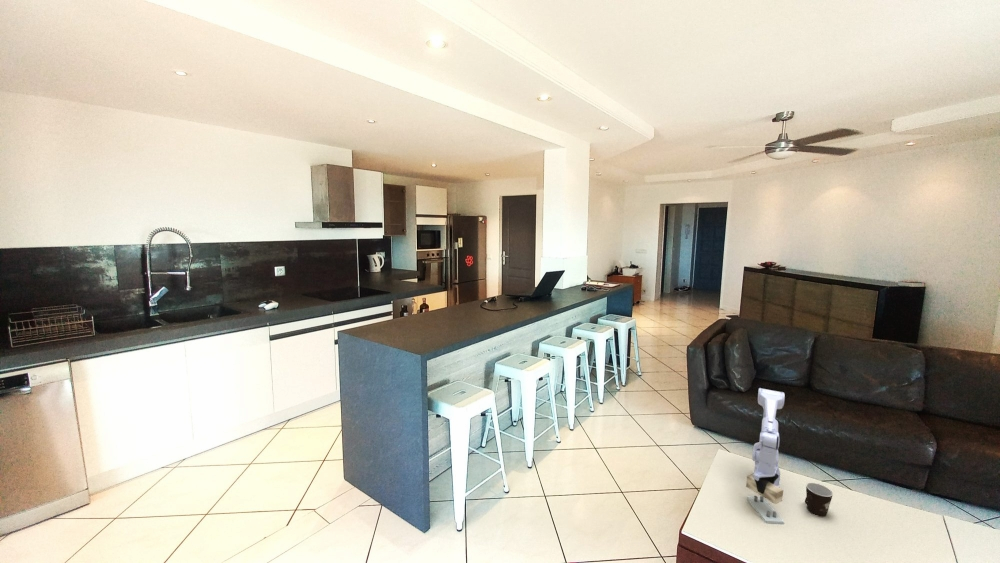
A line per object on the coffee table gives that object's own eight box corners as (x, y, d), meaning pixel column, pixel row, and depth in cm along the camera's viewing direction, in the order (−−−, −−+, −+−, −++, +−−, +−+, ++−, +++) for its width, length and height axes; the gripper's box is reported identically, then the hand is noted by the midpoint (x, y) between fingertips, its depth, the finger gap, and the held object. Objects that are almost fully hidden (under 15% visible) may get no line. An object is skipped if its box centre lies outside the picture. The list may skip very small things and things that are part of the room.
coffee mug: (820, 504, 167) (823, 483, 165) (835, 519, 158) (838, 497, 157) (791, 502, 168) (793, 481, 166) (804, 517, 159) (807, 495, 158)
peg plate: (746, 498, 170) (747, 492, 170) (763, 499, 170) (764, 493, 169) (765, 522, 157) (766, 516, 156) (783, 524, 156) (784, 517, 156)
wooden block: (782, 501, 159) (783, 489, 158) (775, 504, 157) (777, 493, 156) (752, 483, 170) (753, 473, 169) (746, 486, 168) (747, 476, 167)
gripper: (767, 451, 168) (764, 480, 170) (746, 460, 162) (743, 489, 164) (785, 459, 162) (782, 489, 164) (764, 469, 155) (761, 500, 157)
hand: (764, 490), depth 163 cm, fingers closed on wooden block, 4 cm apart
